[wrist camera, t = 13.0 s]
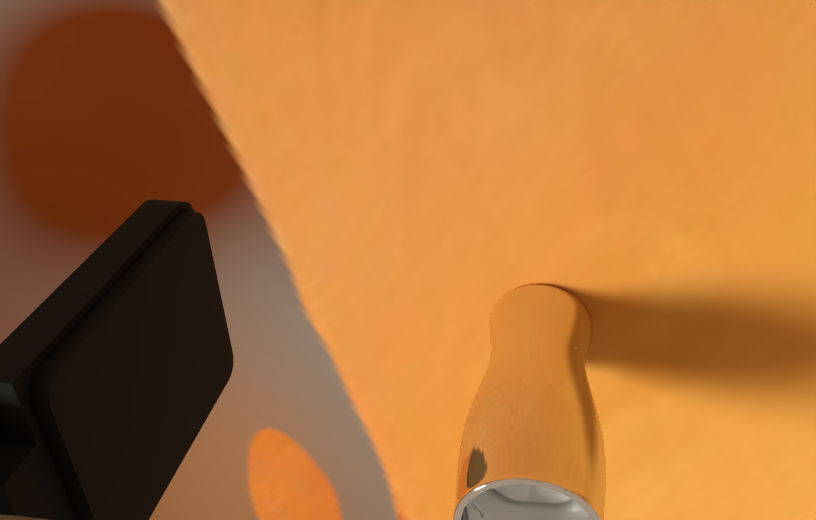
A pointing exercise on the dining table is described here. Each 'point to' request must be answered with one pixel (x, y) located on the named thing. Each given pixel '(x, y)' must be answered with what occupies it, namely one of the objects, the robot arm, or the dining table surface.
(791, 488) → the dining table surface
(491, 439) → the beer glass
